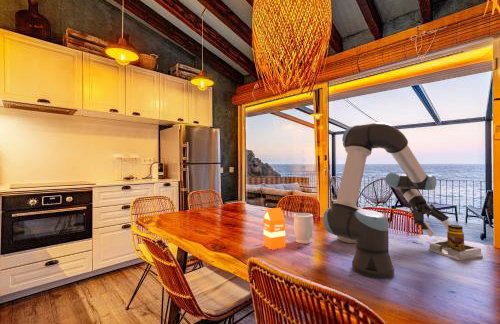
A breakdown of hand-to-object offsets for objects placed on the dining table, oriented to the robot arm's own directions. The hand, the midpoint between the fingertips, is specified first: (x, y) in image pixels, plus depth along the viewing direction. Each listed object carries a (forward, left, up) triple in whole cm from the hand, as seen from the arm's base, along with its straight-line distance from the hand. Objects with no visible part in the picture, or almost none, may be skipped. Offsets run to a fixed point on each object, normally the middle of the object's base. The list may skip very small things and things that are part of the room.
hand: (443, 233), depth 121 cm
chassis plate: (0, -5, -8) cm, 9 cm away
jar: (-58, +33, -8) cm, 68 cm away
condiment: (0, -5, -7) cm, 8 cm away
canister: (-33, +26, -8) cm, 43 cm away
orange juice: (-76, +31, -8) cm, 83 cm away
